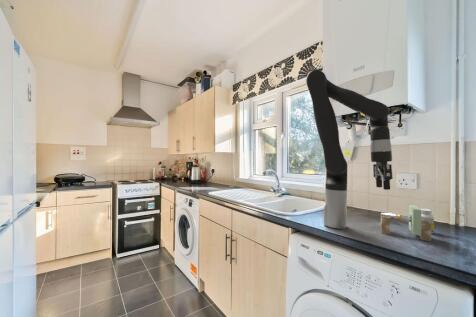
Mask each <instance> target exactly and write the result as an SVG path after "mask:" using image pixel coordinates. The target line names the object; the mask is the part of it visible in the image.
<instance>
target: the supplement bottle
mask: <svg viewBox="0 0 476 317" xmlns="http://www.w3.org/2000/svg"><path fill="white" fill-rule="evenodd" d="M420 209H421V217H423V218H429V219H430V223H431V235H432V234H434V233H435V222H434V220H435V218H434V217H435V216H434V215H432V212H433V211H432V210H431V209H430V208H429V209H428V208H420Z"/></svg>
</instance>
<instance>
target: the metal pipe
mask: <svg viewBox="0 0 476 317" xmlns="http://www.w3.org/2000/svg"><path fill="white" fill-rule="evenodd" d="M381 216H386V217H390V221H391V220H393V221H398V222H407V223H409V222H412V216H409V215H403V214H397V213H396V214H394V213H388V212H387V213H386V212H380V217H381ZM421 221H426V222H430V219H429V218H423V217H421Z"/></svg>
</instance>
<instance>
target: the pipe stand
mask: <svg viewBox="0 0 476 317" xmlns="http://www.w3.org/2000/svg"><path fill="white" fill-rule="evenodd" d="M380 232H381V234H385V235H389V236H390V235H391V219H390V217H386V216H381V215H380ZM417 236H418V238H419V239H420V240H421V241H429V242H431V241H432V234H431V223H430V222H426V221H421V236H419V235H417Z"/></svg>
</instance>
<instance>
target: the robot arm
mask: <svg viewBox="0 0 476 317" xmlns="http://www.w3.org/2000/svg"><path fill="white" fill-rule="evenodd" d="M327 78H328V77H327V76H326V74H325V72H323V71H322V70H320V69H313V70H311V71H309V73H308V74H307V75H306V79H305V83H306V87H307V89H308V92H309V96H310V98H311V103H312V110H313V115H314V116H313V117H314V122H315V126H316V130H317V132H318V137H319V140H320V143H321V145H322V150H323V156H324V167H325V170H326V176H325V195H324V196H325V198H324V200H325V201H324V207H323V210H324V211H323V214H324V215H323V219H324V220H323V225H324V226H325V227H328V228H332V229H346V228H347V218H348V217H347V214H348V212H347V210H348V209H347V208H348V204H347V202H348V163H347V160H346V159H345V156H344V154H343V151H342V148H341V144H340V133H339V126H338V125H339V124H338V120H337V117H336V116H337V115H336V113H335V110H334V107H333V105H332V103H331V101H330V99H332V100H334V101H336V102H338V103H340V104H341V105H343V106H345V107H347V108H349V109H351V110H352V111H355V112H358V113H361V114H363V115H366V116H368V118H369V121H368V122H369V127H370V146H369V148H370V161H371V162H372V163H373V165H372V168H373V175H372V176H373V178H375V185H376V186H375V187H376V188H383V190H385V191H387V190H388V191H389V190H391V180H393V169H392V167H393V166H392V164H391V163H390V162H392V161H393V155H392V154H393V153H392V143H391V136H390V135H391V133H390V132H391V131H390V128H389V124H388V123H389V120H388V119H389V118H388V116H389V115H390V108H389V107H388V105H387V104H385V103H383V102H380V101H377V100H375V99H371V98H368V97H366V96H365V95H363V94H360V93H358V92H356V91H353V90H352V89H347V88H343V87H342V86H341V87H340V86H338V85H336V84H334V83H332V82H331V81H330V80H328V79H327ZM388 162H389V163H388Z"/></svg>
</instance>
